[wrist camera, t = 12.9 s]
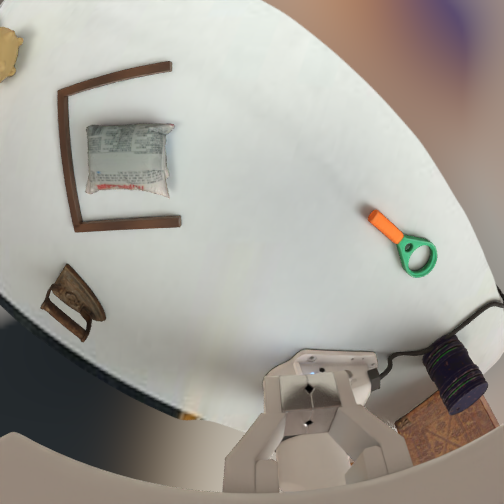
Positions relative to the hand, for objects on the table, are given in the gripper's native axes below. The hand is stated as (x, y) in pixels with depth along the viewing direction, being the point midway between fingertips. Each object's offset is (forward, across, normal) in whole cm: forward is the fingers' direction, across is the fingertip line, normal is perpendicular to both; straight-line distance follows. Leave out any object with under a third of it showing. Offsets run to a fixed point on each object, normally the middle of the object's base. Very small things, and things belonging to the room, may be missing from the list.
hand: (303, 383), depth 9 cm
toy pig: (+25, -39, +28) cm, 54 cm away
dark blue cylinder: (+28, +38, -32) cm, 57 cm away
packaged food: (+26, -17, +6) cm, 32 cm away
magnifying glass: (+27, +19, -6) cm, 34 cm away
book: (+29, +49, -56) cm, 80 cm away
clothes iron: (+26, -31, -14) cm, 43 cm away
